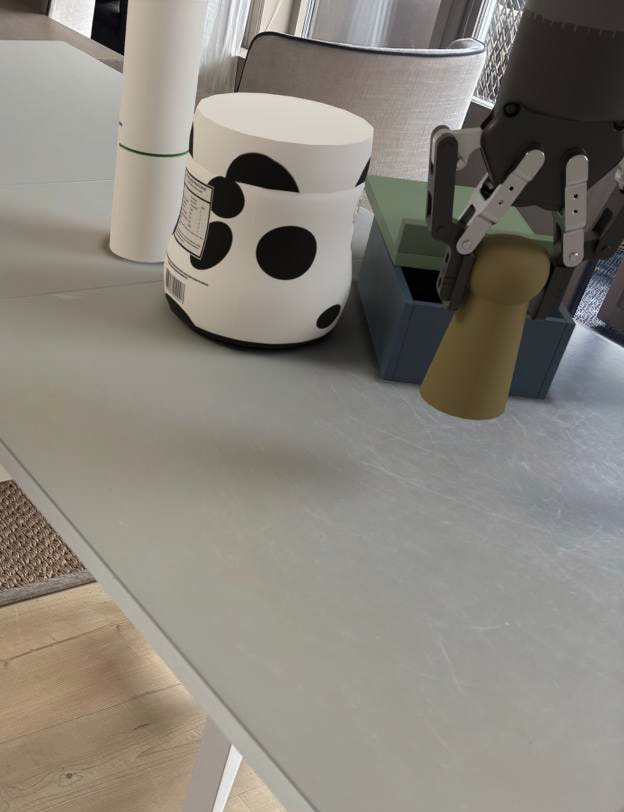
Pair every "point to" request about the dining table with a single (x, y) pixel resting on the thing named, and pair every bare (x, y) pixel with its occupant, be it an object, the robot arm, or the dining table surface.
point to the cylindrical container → (155, 123)
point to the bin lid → (406, 227)
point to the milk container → (267, 219)
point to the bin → (442, 324)
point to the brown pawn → (487, 329)
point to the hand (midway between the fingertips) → (492, 310)
